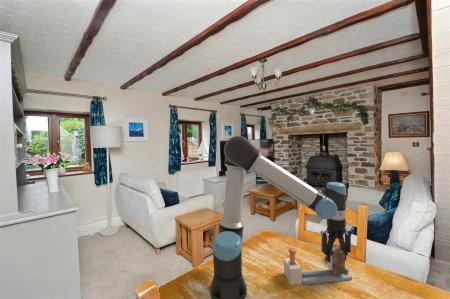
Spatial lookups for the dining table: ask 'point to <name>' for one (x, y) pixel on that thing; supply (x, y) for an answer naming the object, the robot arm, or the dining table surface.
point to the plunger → (292, 255)
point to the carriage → (338, 260)
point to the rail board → (323, 276)
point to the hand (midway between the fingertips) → (336, 267)
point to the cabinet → (293, 272)
